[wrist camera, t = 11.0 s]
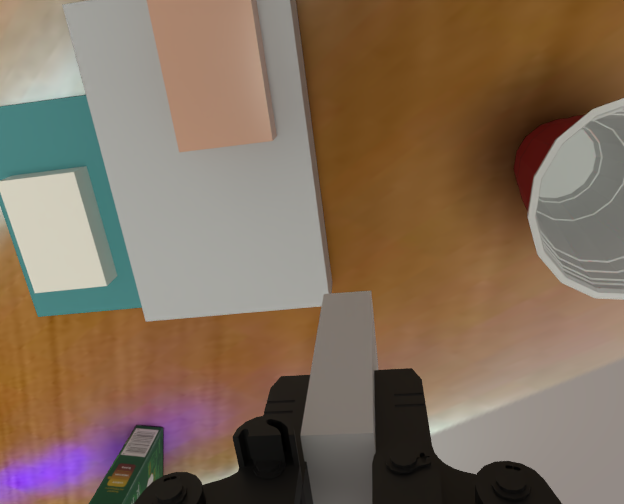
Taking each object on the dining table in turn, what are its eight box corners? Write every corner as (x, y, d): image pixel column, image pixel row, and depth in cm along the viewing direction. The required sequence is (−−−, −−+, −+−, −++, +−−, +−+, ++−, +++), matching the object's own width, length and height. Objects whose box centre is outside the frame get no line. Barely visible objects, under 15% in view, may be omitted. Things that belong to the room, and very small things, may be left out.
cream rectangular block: (73, 171, 39) (86, 166, 41) (-4, 181, 40) (12, 175, 42) (106, 286, 42) (117, 275, 44) (34, 293, 43) (48, 282, 45)
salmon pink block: (157, -1, 33) (145, -4, 31) (253, -16, 33) (247, -20, 31) (188, 146, 36) (179, 152, 34) (276, 135, 36) (272, 140, 34)
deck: (91, 8, 38) (62, 4, 34) (292, -23, 36) (285, -31, 32) (163, 298, 45) (145, 321, 41) (332, 283, 43) (330, 305, 40)
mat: (-30, 110, 41) (-32, 111, 40) (111, 91, 39) (109, 91, 39) (39, 315, 46) (38, 316, 46) (164, 303, 45) (163, 305, 45)
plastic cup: (672, 142, 38) (805, 183, 27) (558, 258, 41) (633, 337, 30) (556, 44, 36) (646, 44, 25) (447, 173, 40) (484, 224, 29)
